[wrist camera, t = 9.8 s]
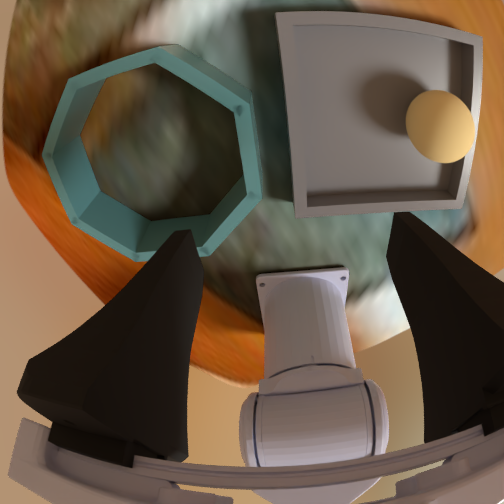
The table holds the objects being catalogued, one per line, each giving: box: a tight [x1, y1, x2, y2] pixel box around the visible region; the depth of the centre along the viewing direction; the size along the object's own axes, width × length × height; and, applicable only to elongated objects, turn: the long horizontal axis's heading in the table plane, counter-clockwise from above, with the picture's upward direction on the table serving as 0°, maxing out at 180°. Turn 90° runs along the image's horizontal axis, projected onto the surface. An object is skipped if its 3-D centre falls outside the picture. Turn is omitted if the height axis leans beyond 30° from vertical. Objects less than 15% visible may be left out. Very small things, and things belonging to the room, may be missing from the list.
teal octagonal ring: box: [42, 44, 262, 262], centre depth 17 cm, size 13×13×4 cm
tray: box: [274, 11, 483, 218], centre depth 16 cm, size 13×13×2 cm
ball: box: [406, 90, 475, 163], centre depth 14 cm, size 4×4×4 cm
